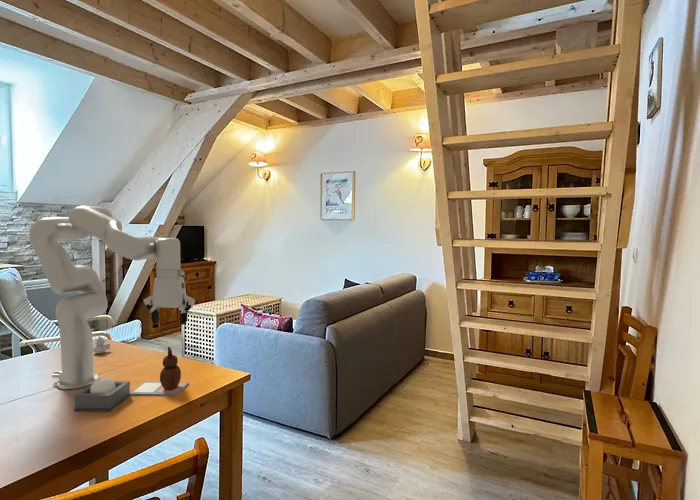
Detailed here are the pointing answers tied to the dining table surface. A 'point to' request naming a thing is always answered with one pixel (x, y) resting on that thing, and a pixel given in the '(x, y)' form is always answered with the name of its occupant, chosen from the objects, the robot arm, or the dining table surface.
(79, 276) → the robot arm
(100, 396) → the dome housing
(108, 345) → the rubber duck
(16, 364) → the dining table surface
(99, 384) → the dome
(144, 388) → the grey flat tray
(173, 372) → the wooden figurine
